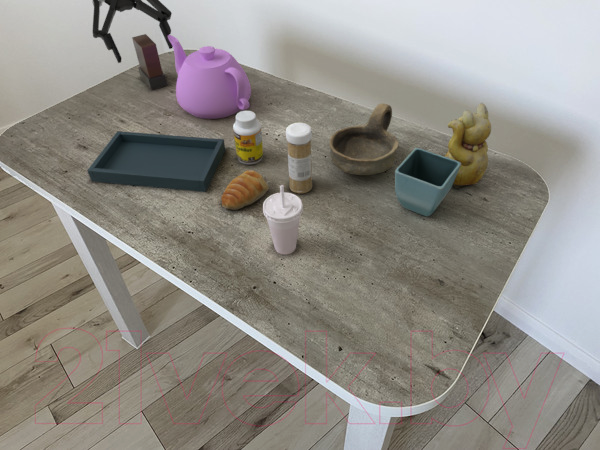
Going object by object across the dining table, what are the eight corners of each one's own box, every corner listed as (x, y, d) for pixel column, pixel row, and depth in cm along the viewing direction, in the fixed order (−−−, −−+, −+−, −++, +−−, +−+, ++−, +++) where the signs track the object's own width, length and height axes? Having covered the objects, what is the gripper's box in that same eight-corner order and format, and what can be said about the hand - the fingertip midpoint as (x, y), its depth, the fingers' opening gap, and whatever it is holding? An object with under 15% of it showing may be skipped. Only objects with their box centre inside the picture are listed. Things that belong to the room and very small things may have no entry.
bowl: (314, 172, 97) (314, 130, 90) (357, 131, 108) (360, 90, 101) (374, 196, 92) (379, 153, 85) (414, 151, 102) (421, 109, 95)
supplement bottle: (232, 161, 101) (225, 118, 94) (246, 147, 104) (241, 105, 97) (254, 168, 99) (249, 126, 91) (268, 154, 102) (265, 112, 95)
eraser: (140, 78, 128) (129, 37, 120) (156, 73, 129) (146, 32, 122) (151, 90, 123) (140, 48, 115) (167, 85, 125) (158, 44, 117)
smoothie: (268, 262, 80) (262, 199, 71) (264, 235, 85) (258, 173, 75) (306, 257, 81) (305, 194, 71) (300, 231, 86) (298, 168, 76)
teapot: (274, 102, 117) (270, 47, 108) (222, 135, 108) (213, 78, 98) (203, 73, 129) (194, 21, 119) (151, 101, 119) (136, 47, 110)
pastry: (239, 218, 88) (237, 202, 86) (212, 204, 91) (209, 189, 89) (271, 190, 94) (270, 175, 91) (245, 178, 97) (243, 163, 94)
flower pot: (409, 184, 94) (415, 145, 88) (452, 200, 90) (462, 161, 84) (388, 209, 89) (393, 171, 83) (433, 228, 85) (442, 189, 79)
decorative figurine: (458, 159, 99) (475, 93, 89) (493, 177, 95) (515, 110, 84) (429, 179, 95) (443, 112, 84) (464, 199, 90) (484, 131, 80)
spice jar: (311, 179, 96) (311, 120, 86) (312, 194, 93) (312, 135, 83) (288, 180, 96) (285, 121, 86) (288, 195, 93) (285, 136, 83)
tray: (91, 181, 97) (87, 170, 95) (121, 141, 107) (117, 130, 105) (206, 192, 94) (203, 181, 92) (225, 150, 104) (223, 139, 102)
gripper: (156, -28, 128) (189, 47, 130) (60, -8, 119) (97, 72, 121) (159, -45, 122) (194, 34, 123) (57, -25, 112) (96, 60, 114)
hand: (146, 53), depth 122 cm, fingers open, 13 cm apart
